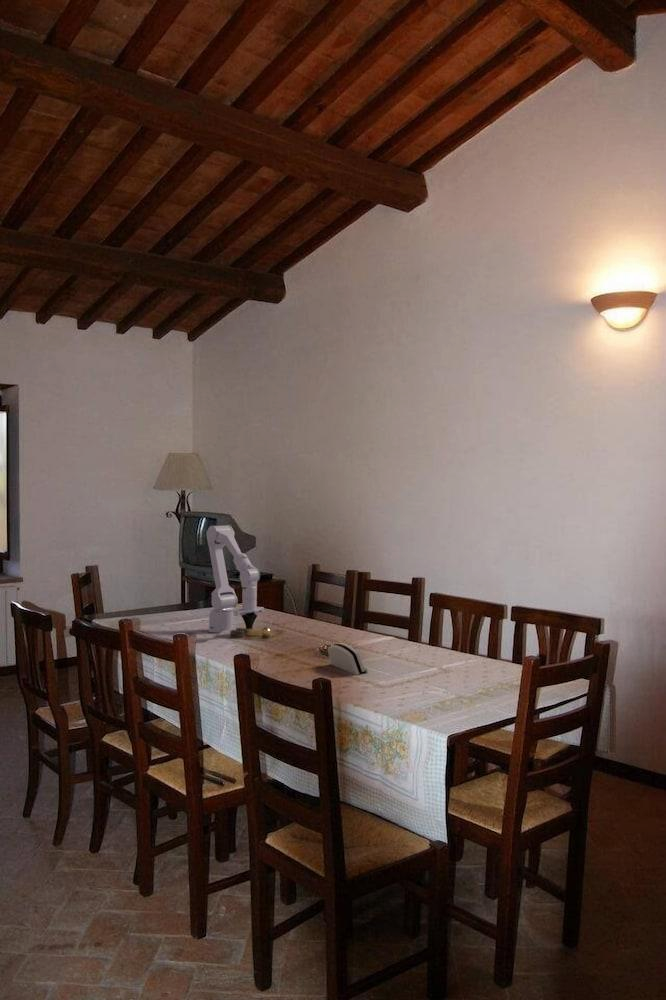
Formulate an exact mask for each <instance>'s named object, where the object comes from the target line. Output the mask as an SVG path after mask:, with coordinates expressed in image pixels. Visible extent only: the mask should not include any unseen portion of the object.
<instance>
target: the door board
mask: <svg viewBox="0 0 666 1000" xmlns="http://www.w3.org/2000/svg"><path fill="white" fill-rule="evenodd" d="M253 628H254V627H253ZM254 629H259V628H256V627H255V628H254ZM229 631H230V635H229V636H226V638H225V639H227V640H228V639H229V640H242V641H256V642H257V641H258V642H260V641H261V642H275V641H276V639H278V638H279V637H280V636H282V635H283V634H284V633H285V632H287V630H286V629H273V628H270V637H261V636H249V635H244V631H239V630H236V629H232V630H229Z"/></svg>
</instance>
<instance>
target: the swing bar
mask: <svg viewBox="0 0 666 1000" xmlns="http://www.w3.org/2000/svg"><path fill="white" fill-rule="evenodd" d="M270 629H271V628H270V627H267V626H266V627H265V626H264V627H262V628H258V629H254V627H252V628H246V627H241V626H238V627H236V628H235V630H239V631H244V635H249V636H261V637H270Z"/></svg>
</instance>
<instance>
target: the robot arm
mask: <svg viewBox="0 0 666 1000" xmlns="http://www.w3.org/2000/svg"><path fill="white" fill-rule="evenodd" d="M205 536H206V540H207V545H208V549H209V555H210V561H211V567H212V572H213V578H214V583H215V589H214V590H213V591H212V592H211V602H210V603H211V606H212V608H213V609H210V612H209V621H208V633H218V634H220V633H222V632H224V631H231V630H234V629H233V628H234V626H233V625H234V617H240V616H241V618H242V620H243V621H244V624H245V628H253V626H254V623H255V621H256V619H257V617H258V613H264V612H265V611H264V610H265V609H264V608H265V607H264V606H257V603H258V601H257V598H258V595H257V594H258V592H257V591H258V582H259V581H260V579H261V572H260V570H259V568H258V567H255V566H254V565H253V564H252V563H251V560H250V559H249V558H248V555H247V554H246V553H243V552H241V549H240V547H239V544H238V542H237V541H236V538H235V530H234V529H233V527H232V526H231V525H230V524H226V525H210V526H209V527H208V529H207V531H206V535H205ZM225 546H226V548H227V549H228V551H229V552H230V553H231V555H232V556H233V560H232V561H233V563H234V566H235V567H236V568H237V570H238V572H239V580H240V583H241V587H242V593H241V594H242V595H241V597H242V602H241V604H242V605H241V608H240V609H237V610H236V609H235V608H236V607H237V606H238V597H237V595H236V592H235V589H234V588H233V587H231V586H230V585H229V578H228V573H227V568H226V562H225V556H224V551H223V548H224V547H225Z"/></svg>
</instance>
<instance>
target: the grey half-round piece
mask: <svg viewBox="0 0 666 1000" xmlns="http://www.w3.org/2000/svg"><path fill="white" fill-rule="evenodd" d="M327 653H328V657H329V662H330V665H331V666H334V667H337V668H339V669H342V670H343V671H346V672H349V673H351V674H353V675H355V676H357V675H360V672H361V673H366V674H369V671H368V668H367V667H365V666H364V664H363V661H362V658H361V655H360V653H359V651H358V650H357V649H355V648H354V647H353V646H351V645H349V644H348V643H344V642H337V643H332V645H330V646H328V647H327Z"/></svg>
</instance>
